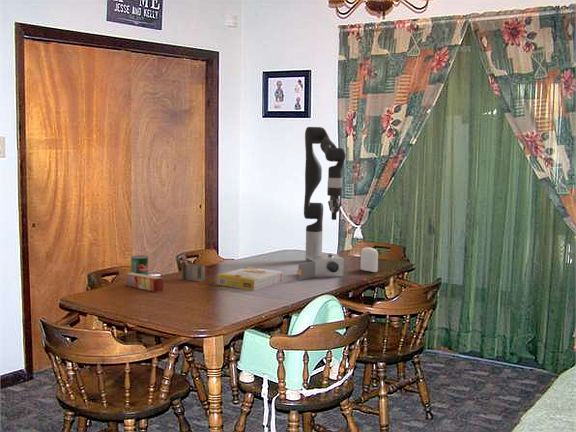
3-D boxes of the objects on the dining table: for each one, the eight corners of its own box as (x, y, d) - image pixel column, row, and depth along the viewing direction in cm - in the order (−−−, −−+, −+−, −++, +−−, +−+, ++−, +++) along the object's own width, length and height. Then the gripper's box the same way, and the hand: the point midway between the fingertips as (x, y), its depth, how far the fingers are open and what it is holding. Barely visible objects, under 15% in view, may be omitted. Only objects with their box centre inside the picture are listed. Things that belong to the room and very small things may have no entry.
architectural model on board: (181, 280, 346) (181, 260, 345) (185, 278, 348) (185, 259, 347) (201, 282, 340) (201, 262, 339) (204, 281, 343) (204, 261, 342)
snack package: (123, 286, 327) (123, 272, 326) (135, 284, 332) (134, 270, 331) (153, 293, 313) (153, 278, 312) (165, 291, 318) (165, 276, 317)
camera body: (305, 272, 368) (305, 253, 367) (334, 271, 373) (335, 252, 372) (314, 278, 354) (315, 258, 353) (344, 276, 359) (345, 257, 358)
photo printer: (359, 269, 380) (359, 246, 379) (364, 269, 383) (365, 246, 381) (373, 272, 372) (373, 249, 371) (378, 271, 375) (379, 248, 374)
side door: (313, 276, 356) (314, 261, 355) (316, 277, 355) (316, 261, 354) (297, 280, 347) (297, 264, 346) (299, 280, 346) (300, 264, 345)
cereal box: (216, 274, 331) (247, 265, 356) (216, 286, 332) (247, 276, 356) (254, 279, 322) (283, 270, 347) (253, 292, 322) (283, 281, 347)
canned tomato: (144, 281, 339) (144, 258, 338) (128, 280, 340) (128, 257, 339) (150, 278, 347) (150, 255, 345) (135, 277, 348) (135, 254, 347)
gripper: (323, 185, 376) (322, 218, 378) (332, 187, 363) (331, 221, 365) (336, 185, 378) (336, 218, 380) (346, 187, 366) (345, 221, 368)
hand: (333, 219), depth 373 cm, fingers closed
